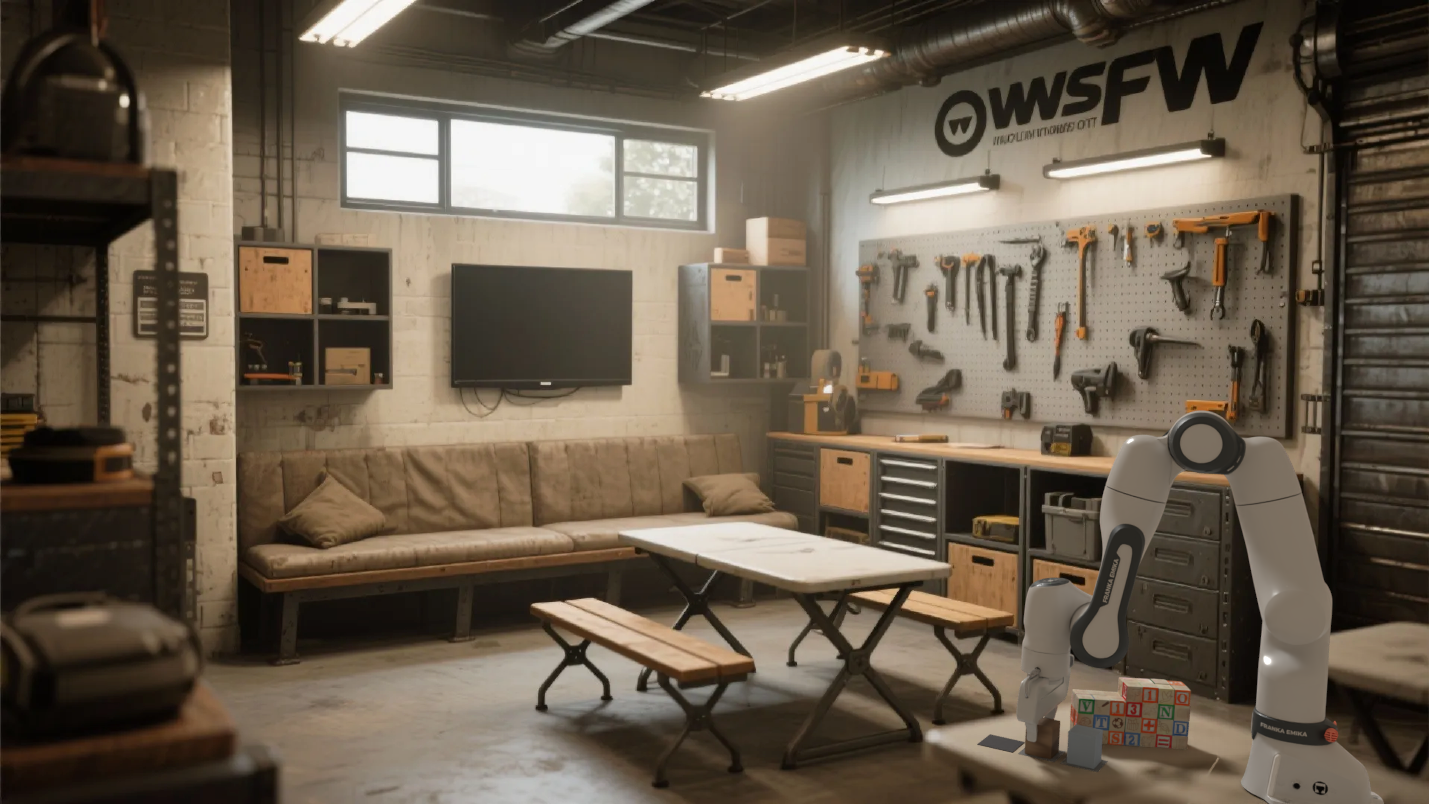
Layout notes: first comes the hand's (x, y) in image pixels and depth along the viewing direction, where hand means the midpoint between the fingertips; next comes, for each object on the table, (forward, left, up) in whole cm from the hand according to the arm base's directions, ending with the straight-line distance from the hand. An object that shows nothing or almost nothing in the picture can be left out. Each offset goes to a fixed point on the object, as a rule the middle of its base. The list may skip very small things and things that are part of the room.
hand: (1040, 733), depth 224 cm
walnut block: (-1, 0, -4) cm, 4 cm away
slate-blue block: (-9, 0, -4) cm, 9 cm away
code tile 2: (-9, 0, -4) cm, 9 cm away
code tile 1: (-1, 0, -4) cm, 4 cm away
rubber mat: (+7, 0, -4) cm, 8 cm away
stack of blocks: (-12, -18, -4) cm, 22 cm away
